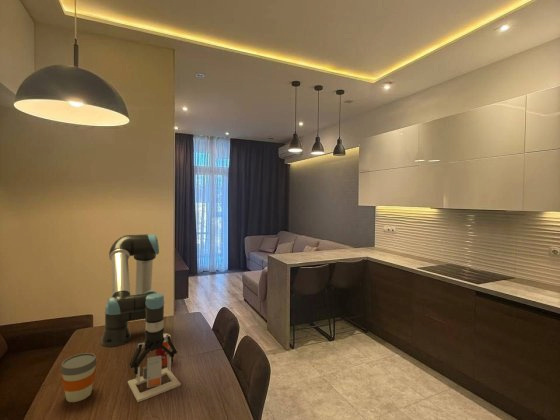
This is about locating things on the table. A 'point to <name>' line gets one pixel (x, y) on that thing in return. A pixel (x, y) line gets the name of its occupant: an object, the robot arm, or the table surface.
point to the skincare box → (154, 371)
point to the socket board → (152, 391)
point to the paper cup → (163, 353)
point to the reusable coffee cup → (78, 376)
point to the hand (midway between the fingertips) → (154, 375)
